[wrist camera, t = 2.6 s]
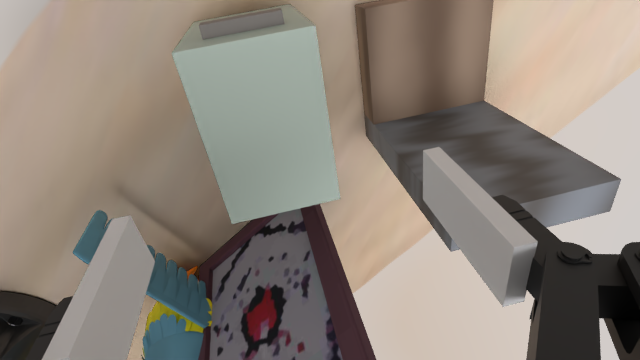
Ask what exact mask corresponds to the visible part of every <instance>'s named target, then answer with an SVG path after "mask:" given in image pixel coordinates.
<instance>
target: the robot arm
mask: <svg viewBox="0 0 640 360" xmlns="http://www.w3.org/2000/svg"><path fill="white" fill-rule="evenodd" d="M423 200H424V201H425V203H426V204H427V205H428V207H429V208H430V210H431V211H432V212H433V214H434V215H435V216H436V218H437V219H438V220H439V222H440V223H441V224H442V226H443V227H444V228H445V230H446V231H447V232H448V234H449V235H450V236H451V238H452V239H453V240H454V242H455V243H456V244H457V246H458V247H459V248H460V250H461V251H462V252H463V254H464V255H465V256H466V258H467V259H468V260H469V262H470V263H471V265H472V266H473V267H474V269H475V270H476V271H477V273H478V274H479V275H480V277H481V278H482V279H483V281H484V282H485V283H486V285H487V286H488V287H489V288H490V290H491V291H492V293H493V294H494V295H495V297H496V298H497V299H498V301H499V302H500V303H501V305H502V306H503V307H504V306H508V305H512V304H516V303H520V302H524V299H525V295H526V291H527V290H528V291H529V292H530V294H532V296H533V297H534V298H535V300H534V303H533V307H532V311H531V315H530V319H531V326H530V335H529V343H528V351H527V359H526V360H601V356H600V329H599V318H604V321H605V323H606V326H607V328H608V331H609V333H610V336H611V338H612V341H613V344H614V346H615V349H616V351H617V354H618V356H619V359H620V360H640V242H632V243H629V244H627V245H625V246H624V248H623V249H622V251H621V254H619V255H617V254H592V253H591V252H590V251H589V250H588V249H586V248H584V247H582V246H580V245H577V244H574V243H569V242H562V241H560V240H559V239H558V238H557V237H556V236H555V235H554V234H553V233H551V232H550V231H549V230H548V229H547V228H546V227H545V226H544V225H542V224H541V223H540V222H539V221H538V220H537V219H536V218H533V216H532V215H531V214H530V213H529V212H528V211H525V208H523V207H522V206H521V205H520V204H519V203H518V202H517V201H515V200H513V199H511V198H509V197H507V196H505V195H499V196H495V197H491V196H490V195H489V194H488V193H487V192H486V191H485V190H484V189H483V188H481V187H480V186H479V185H478V184H477V183H476V182H475V181H474V180H473V179H472V178H471V177H470V176H469V175H468V174H467V173H466V172H465V171H464V170H463V169H462V168H461V167H460V166H459V165H458V164H457V163H456V162H454V161H453V160H452V159H451V158H450V157H449V156H448V155H447V154H446V153H445V152H444V151H443V150H442V149H441V148H440V147H436V148H431V149H427V150H423ZM154 263H155V260H154V258H153V256H152V254H151V253H150V251H149V249H148V247H147V245H146V243H145V241H144V240H143V238H142V236H141V234H140V232H139V230H138V228H137V227H136V225H135V223H134V221H133V219H132V217H131V215H128V216H124V217H119V218H115V219H112V220H111V222H110V224H109V226H108V228H107V230H106V232H105V234H104V236H103V238H102V240H101V242H100V244H99V246H98V248H97V250H96V252H95V254H94V256H93V258H92V260H91V262H90V264H89V266H88V268H87V270H86V272H85V274H84V276H83V278H82V280H81V282H80V284H79V286H78V288H77V290H76V292H75V294H74V296H72V297H68V298H64V299H63V300H62V301H61V302H60V303H59V304H58V305H57V306H55V305H53V304H51V303H48V302H46V301H44V300H41V299H38V298H35V297H31V296H27V295H23V294H17V293H10V292H0V360H127V357H128V353H129V350H130V346H131V343H132V340H133V336H134V333H135V329H136V326H137V322H138V319H139V315H140V312H141V308H142V305H143V302H144V298H145V295H146V291H147V288H148V284H149V281H150V277H151V274H152V270H153V267H154Z"/></svg>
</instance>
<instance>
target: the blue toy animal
mask: <svg viewBox="0 0 640 360" xmlns="http://www.w3.org/2000/svg"><path fill="white" fill-rule="evenodd" d="M112 219H114V218H112ZM112 219H111V220H112ZM111 220H109V222H108V223H107V225H106V227H105V224H106V222H107V215H106V213H105V212H103V211H101V210H98V211H96V212H95V214H94V215H93V217H92V219H91V221H90V222H89V224H88V226H87V228H86V229H85V231H84V233H83V235H82V237H81V238H80V240H79V242H78V243H77V245H76V247H75V249H74V251H73V254H74V255H76V256H77V257H78V258H79V259H81V260H82V261H83V262H85V263H86V264H89V263H90V262H91V260H92V258H93V256H94V254H95V252H96V250H97V248H98V246H99V244H100V242H101V240H102V238H103V236H104V234H105V232H106V230H107V228H108V226H109V224H110V222H111ZM104 227H105V228H104ZM147 247H148V249H149V251H150V253H151V254H152V256H153V258H154V257H155V250H154V248H153V247H152V246H150V245H147ZM197 269H198V266H196V267H194V268H192V269H190V270H189V271H187V272H186V270H185V269H184V268H182V267H180V268H179V269H178V273H177V264H176V263H175V262H174V261H172V260H169V261H168V263H167V268H166V258H165V256H164V255H163V254H162V253H158V254H157V255H156V258H155V263H154V267H153V270H152V274H151V277H150V281H149V284H148V288H147V291H146V294H147V295H148V296H150V297H152V298H154V299H155V300H157V302H156V304H155V305H154V307H153V309H152V312H150V313H149V315H148V318H147V324H146V329H145V336H144V337H143V345H144V350H143V353H144V357H145V359H144V358H143V357H142V359H143V360H198V358H199V353H200V349H201V345H202V341H203V335H204V333H203V329H204V328H206V327H207V326H211V323H212V321H211V315H212V302H211V301H210V299H208V298H206V285H205V282H203V281H198V279H197V278H196V276H195V275H193V274H194V273H195V271H196V270H197ZM142 349H143V348H142ZM141 356H142V355H141Z"/></svg>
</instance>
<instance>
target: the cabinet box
mask: <svg viewBox="0 0 640 360" xmlns="http://www.w3.org/2000/svg"><path fill="white" fill-rule="evenodd" d="M172 56H173V59H174V62H175V65H176V67H177V70H178V73H179V76H180V79H181V81H182V84H183V87H184V90H185V93H186V96H187V98H188V101H189V104H190V107H191V110H192V113H193V115H194V118H195V121H196V124H197V127H198V129H199V132H200V135H201V138H202V141H203V144H204V146H205V149H206V152H207V155H208V158H209V161H210V163H211V166H212V169H213V172H214V175H215V177H216V180H217V183H218V186H219V189H220V192H221V194H222V197H223V200H224V203H225V206H226V208H227V211H228V214H229V217H230V220H231V223H232V224H235V223H240V222H244V221H248V220H252V219H257V218H261V217H265V216H269V215H274V214H278V213H282V212H286V211H291V210H295V209H299V208H303V207H308V206H312V205H316V204H321V203H325V202H329V201H333V200H338V199H340V192H339V185H338V179H337V172H336V165H335V158H334V151H333V144H332V137H331V130H330V123H329V116H328V109H327V102H326V95H325V88H324V81H323V74H322V67H321V61H320V54H319V47H318V40H317V33H316V26H315V25H314V24H313V23H312V22H311V21H310V20H308V19H307V18H306V17H305V16H304V15H303V14H301V13H300V12H299V11H298V10H297V9H295V8H294V7H293V6H292V5H291V4H287V5H282V6H276V7H271V8H266V9H260V10H255V11H250V12H244V13H239V14H234V15H228V16H223V17H218V18H212V19H207V20H201V21H196V22H194V23H193V24H192V25H191V27H190V28H189V29H188V31H187V32H186V34H185V35H184V36H183V38H182V39H181V41H180V42H179V43H178V45H177V46H176V48H175V49H174V50H173V52H172Z"/></svg>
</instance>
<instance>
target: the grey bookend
mask: <svg viewBox="0 0 640 360" xmlns="http://www.w3.org/2000/svg"><path fill="white" fill-rule="evenodd" d="M492 10H493V0H379V1H373V2H368V3H363V4H358V5H355V11H356V22H357V34H358V45H359V57H360V68H361V80H362V91H363V102H364V114H365V125H366V136H367V137H368V139H369V140H370V141H371V143H372V144H373V146H374V147H375V148H376V150H377V151H378V152H379V154H380V155H381V156H382V158H383V159H384V161H385V162H386V163H387V165H388V166H389V167H390V169H391V170H392V172H393V173H394V174H395V176H396V177H397V178H398V180H399V181H400V183H401V184H402V185H403V187H404V188H405V189H406V191H407V192H408V194H409V195H410V196H411V198H412V199H413V200H414V202H415V203H416V204H417V206H418V207H419V209H420V210H421V211H422V213H423V214H424V215H425V217H426V218H427V220H428V221H429V222H430V224H431V225H432V226H433V228H434V229H435V231H436V232H437V233H438V235H439V236H440V237H441V239H442V240H443V241H444V243H445V244H446V246H447V247H448V248H449V250H450V251H455V250H459V249H460V248H459V247H458V246H457V244H456V243H455V242H454V240H453V239H452V238H451V236H450V235H449V234H448V232H447V231H446V230H445V228H444V227H443V226H442V224H441V223H440V222H439V220H438V219H437V218H436V216H435V215H434V214H433V212H432V211H431V210H430V208H429V207H428V205H427V204H426V203H425V201H424V200H423V150H427V149H431V148H436V147H440V148H441V149H442V150H443V151H444V152H445V153H446V154H447V155H448V156H449V157H450V158H451V159H452V160H453V161H454V162H456V163H457V164H458V165H459V166H460V167H461V168H462V169H463V170H464V171H465V172H466V173H467V174H468V175H469V176H470V177H471V178H472V179H473V180H474V181H475V182H476V183H477V184H478V185H479V186H480V187H481V188H483V189H484V190H485V191H486V192H487V193H488V194H489V195H490V196H491V197H495V196H499V195H505V196H507V197H509V198H511V199H513V200H515V201H517V202H518V203H519V204H520V205H521V206H522V207H523V208H525V211H528V212H529V213H530V214H531V215H532V216H533V218H536V219H537V220H538V221H539V222H540V223H541V224H542V225H544V226H545V227H550V226H554V225H558V224H562V223H566V222H570V221H574V220H578V219H582V218H585V217H589V216H593V215H597V214H601V213H605V212H609V211H610V210H611V207H612V204H613V201H614V198H615V195H616V192H617V189H618V187H619V184H620V181H621V179H620V178H618V177H616V176H615V175H613V174H611V173H609V172H608V171H606V170H604V169H602V168H600V167H599V166H597V165H595V164H594V163H592V162H590V161H588V160H587V159H585V158H583V157H581V156H580V155H578V154H576V153H574V152H573V151H571V150H569V149H567V148H566V147H564V146H562V145H560V144H559V143H557V142H555V141H553V140H552V139H550V138H548V137H547V136H545V135H543V134H541V133H540V132H538V131H536V130H534V129H533V128H531V127H529V126H527V125H526V124H524V123H522V122H520V121H519V120H517V119H515V118H513V117H512V116H510V115H508V114H506V113H505V112H503V111H501V110H499V109H498V108H496V107H494V106H492V105H491V104H489V103H487V102H485V101H484V93H485V83H486V72H487V62H488V52H489V41H490V31H491V20H492Z"/></svg>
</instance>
